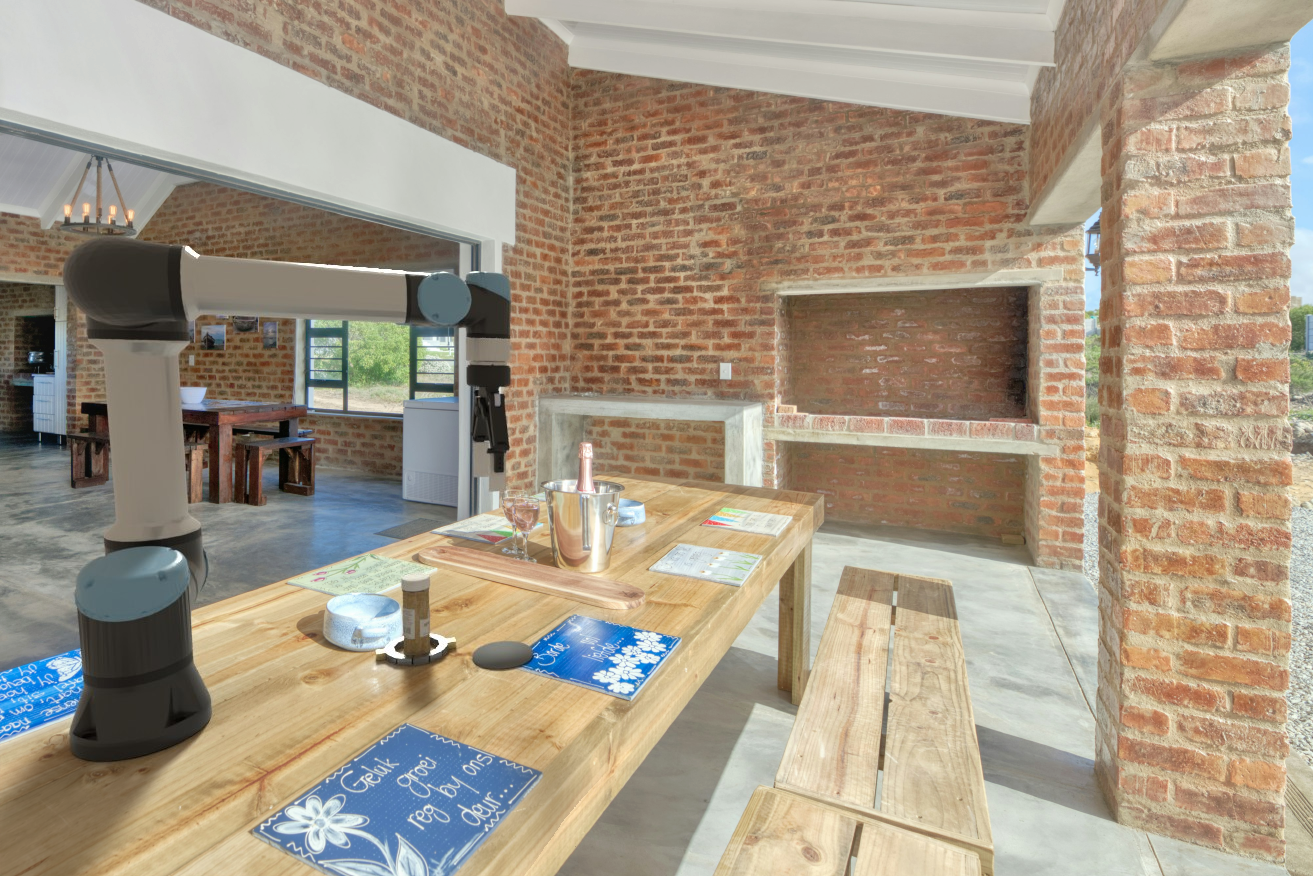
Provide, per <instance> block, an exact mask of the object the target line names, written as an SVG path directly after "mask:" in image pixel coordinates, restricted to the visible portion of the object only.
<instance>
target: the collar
mask: <svg viewBox="0 0 1313 876" xmlns="http://www.w3.org/2000/svg"><path fill="white" fill-rule="evenodd" d="M430 645H433V646H436V648H435V649H431V650H430V652H427V653H423V654H417V655H404V653H400V652H398V650H399V649H401V648H404V636H403V635H402V636H400V637H397V638H394V639H393V640H390V642H389V643H387V645H385V647H384V648H381V649H380V648H379V649H375V658H376V661H377V662H379V661H385V660H386V661H387V662H389V663H391V664H393V665H397V666H405V667H412V666H415V667H416V666H420V665H425V664H429V663H433V662H436V661H437V660H439V659H442V658H444V656H445V655H447V653H448V651H449V650H450V649H455V648H456V649H457V640H456V638H455V637H449V638H446V637H445V636H442V635H439V634H438V633H437V634H435V633H430Z"/></svg>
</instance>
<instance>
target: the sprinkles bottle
mask: <svg viewBox="0 0 1313 876" xmlns="http://www.w3.org/2000/svg"><path fill="white" fill-rule="evenodd" d="M400 580H401V581H400V584H401V585H400V586H401V587H400V588H401V591H402V636H404V647H403V650H402V651H403V652H402V654H403V655H417V654H423V653H427V652H430V651H432V647H431V644H430V634H431V614H430V612H431V611H430V607H431V606H430V587H431V576H430V575H429V574H428V573H424V572H412V573H408V574H405V575H404V576H402V577H401V579H400Z"/></svg>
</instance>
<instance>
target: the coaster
mask: <svg viewBox="0 0 1313 876" xmlns="http://www.w3.org/2000/svg"><path fill="white" fill-rule="evenodd" d="M533 653H534V651H533V648H532V647H531V646H529V645H528V644H526V643H523V642H520V641H515V640H514V641H512V640H502V641H501V640H499V641H494V642H490V643H486V644H483V645H482V646H481V645H480V646H479V647H478V648H476V649H475V650H474V652H473V653H472V661H473V663H474V664H475V665H477V666H478V667H480V668H484V669H489V670H506V669H507V670H508V669H513V668H516V667H520V666H523V665H524V664H526V663H528V662H529V661H531V660H532V658H533V655H534V654H533Z"/></svg>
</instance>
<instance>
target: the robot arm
mask: <svg viewBox="0 0 1313 876" xmlns="http://www.w3.org/2000/svg"><path fill="white" fill-rule="evenodd" d="M62 268H63V269H62V283H63V287H64V290H65V292H66V294H67V296H68V298H69V299H70V301H71V302H72V303H73V305H74V306H75V307H76V308H77V309H78V310H79V311H80V312H81V313H83V314H85V320H86V321H85V322H86V333H87V341H88V343H89V344H91V345H92V346H94V347H95V348H97V350H99V351H100V352H101V353H102V355H103V357H102V358H103V369H104V381H105V395H106V406H107V407H106V408H107V419H108V430H109V433H108V434H109V444H110V458H111V474H112V482H113V484H112V485H113V499H114V508H115V522H114V523H113V524H112V525H110V527H109V528H108V529H106V531H104V532H103V543H104V544H103V545H104V556H103V555H102V556H99V557H96V558H94V559H92V560H91V561H90V562H89V561H88V563H86V564H85V565H84V566H83V567H82V568H81V569H80V570H79V572H78V574H77V576H76V581H75V590H74V593H73V594H74V603H75V605H76V612H77V621H78V622H77V624H78V634H79V646H80V655H81V656H80V659H81V668H82V669H81V670H82V679H83V687H82V691H81V693H80V697H79V699H78V702H77V706H76V709H75V711H74V715H73V718H72V721H71V723H70V727H69V734H68V735H69V736H68V737H69V745H70V746H69V747H70V751H71V753H72V754H73V755H74V756H76V757H77V758H80V759H83V760H87V761H93V762H97V761H98V762H110V761H121V760H126V759H127V760H128V759H133V758H137V757H141V756H145V755H150V754H152V753H155V752H159V751H162V750H163V749H167V748H169V747H172V746H174V745H176V744H178V743H180V742H182V741H184V740H186V739H189V738H190V737H191V736H193V735H194V734H196V733H197V732H199V731H200V730H202V729H203V728H204V727H205V726H206V725H207V724H208V723H209V721H210V720H211V717H212V714H213V710H212V709H213V707H212V697H211V695H210V692H209V690H208V688H207V685H206V684H205V682H204V680H203V678H202V676H201V675H200V673H199V670H198V669H197V666H196V664H195V663H194V662H195V661H194V649H193V647H194V645H193V643H194V642H193V630H192V610H193V608H194V605H195V603H196V601H197V599H198V597H199V594H200V593H201V592H202V591H203V589H204V587H205V585H206V582H207V578H208V576H209V572H210V571H209V570H210V563H209V557H208V555H207V552H206V549H205V548H204V545H203V544H204V543H203V533H202V532H203V530H202V523H201V521H199V520H198V519H196V518H195V517H193V516H192V515H191V514H190V512H189V504H188V503H189V502H188V501H189V500H188V487H187V486H188V483H187V472H186V471H187V470H186V468H187V467H186V457H185V456H186V455H185V442H184V440H185V439H184V426H183V423H184V422H183V408H182V393H181V378H180V376H181V375H180V361H179V358H180V357H179V355H180V354H181V352H182V351H183V350H184V349H185V348H186V347H187V346H188V345H190V344H191V337H190V335H191V333H190V322H191V323H193V322H194V321H195V320H197V319H198V318H199V317H200V316H203V315H204V316H206V315H207V316H229V317H230V316H232V317H251V318H254V317H255V318H272V319H273V318H275V319H278V318H279V319H293V320H294V319H297V320H298V319H299V320H318V321H322V320H324V321H340V322H341V321H344V322H365V323H366V322H367V323H368V322H369V323H389V324H391V323H392V324H396V325H397V326H403V327H404V326H405V327H406V326H407V327H412V328H416V327H420V328H421V327H424V328H426V327H427V328H456V329H465V331H466V332H465V335H466V336H465V360H466V361H467V362H469V364H467V366H465V367H466V374H465V375H466V376H465V377H466V385H467V386H468V387H476V388H474V390H473V407H472V419H471V429H470V436H471V437H472V442H473V443H472V444H473V445H472V447H473V449H472V451H473V452H472V453H473V459H472V461H473V477H474V478H485V477H486V478H487V477H488V491H489V492H490V493H493V492H506V491H507V452H509V451H510V448H511V446H510V440H509V429H508V422H507V413H506V396H505V393H500V390H499V389H500V388H506V387H510V386H511V383H512V382H511V381H512V379H511V378H512V377H511V376H512V373H511V372H512V369H511V366H510V365H508V363H509V362H511V351H513V350H514V345H512V344H511V315H512V314H511V313H512V312H511V311H512V295H511V283H510V282H511V281H510V279H509V277H508V275H505V274H504V273H499V272H492V271H470V272H468V273H467V274H466V276H465V280H463V279H462V278H461V277H460V276H458V275H457V274H454V273H451V272H447V271H435V272H432V273H430V272H417V271H404V270H392V269H379V268H368V267H353V266H345V265H344V266H341V265H331V264H328V265H327V264H316V263H307V262H306V263H303V262H294V261H293V262H291V261H280V260H279V261H278V260H267V259H256V258H255V259H252V258H239V257H229V256H215V255H214V256H213V255H205V254H204V255H202V254H198V253H197V252H195V250H193V249H192V248H191V247H190V246H189V245H180V244H179V245H178V244H170V243H160V242H154V241H148V240H147V241H146V240H142V239H137V238H132V237H129V236H128V237H127V236H120V235H102V236H97V237H93V238H91V239H88V240H85V241H83V242H82V243H80V244H79V245H77V246H76V247H75V248H73V249H72V251H71V252H70V253H69V254H68V256H67V258H66V259H65V260H64V264H63V267H62Z"/></svg>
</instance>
